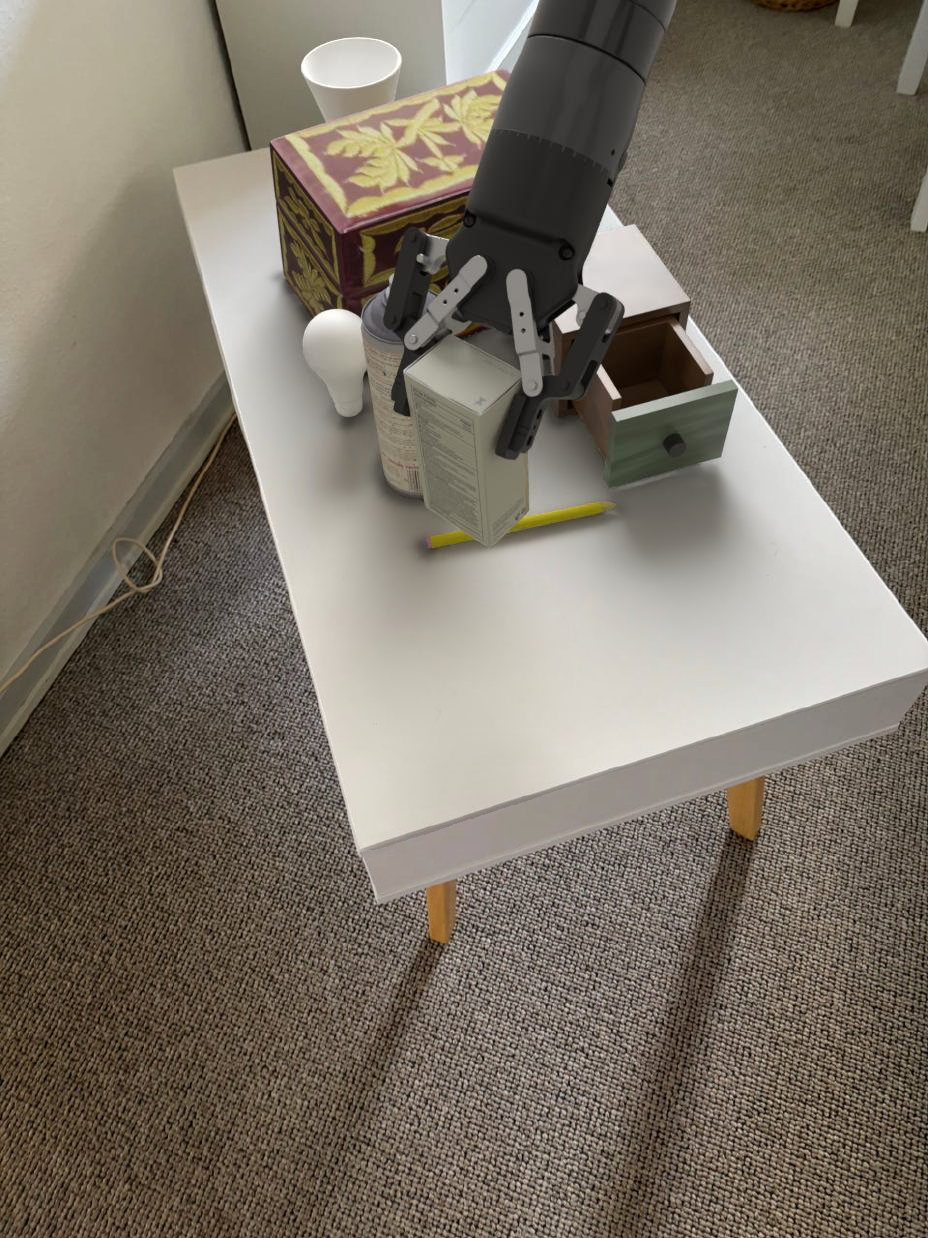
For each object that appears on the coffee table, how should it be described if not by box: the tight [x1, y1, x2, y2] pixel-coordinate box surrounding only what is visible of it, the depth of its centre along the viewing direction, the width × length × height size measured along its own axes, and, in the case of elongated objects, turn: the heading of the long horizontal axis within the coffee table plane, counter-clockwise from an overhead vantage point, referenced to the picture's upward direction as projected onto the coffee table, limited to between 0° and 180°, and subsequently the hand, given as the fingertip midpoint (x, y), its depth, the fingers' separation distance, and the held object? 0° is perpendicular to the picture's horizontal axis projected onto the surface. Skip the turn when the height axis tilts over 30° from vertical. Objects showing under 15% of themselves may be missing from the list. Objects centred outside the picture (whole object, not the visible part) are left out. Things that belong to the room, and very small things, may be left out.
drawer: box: [571, 314, 739, 490], centre depth 84 cm, size 12×11×8 cm
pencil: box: [425, 501, 617, 550], centre depth 82 cm, size 16×1×1 cm, turn 103°
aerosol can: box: [361, 274, 439, 499], centre depth 79 cm, size 7×7×20 cm
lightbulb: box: [302, 309, 367, 418], centre depth 87 cm, size 6×6×11 cm
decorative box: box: [268, 68, 511, 376], centre depth 95 cm, size 28×19×15 cm
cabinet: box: [542, 223, 692, 420], centre depth 90 cm, size 12×12×10 cm
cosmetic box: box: [403, 335, 530, 548], centre depth 61 cm, size 6×4×12 cm
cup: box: [300, 37, 403, 123], centre depth 107 cm, size 10×10×14 cm
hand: (454, 435), depth 59 cm, fingers closed on cosmetic box, 6 cm apart
